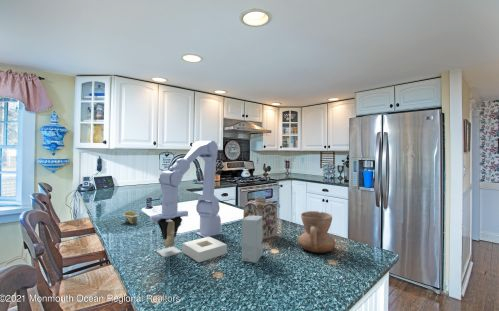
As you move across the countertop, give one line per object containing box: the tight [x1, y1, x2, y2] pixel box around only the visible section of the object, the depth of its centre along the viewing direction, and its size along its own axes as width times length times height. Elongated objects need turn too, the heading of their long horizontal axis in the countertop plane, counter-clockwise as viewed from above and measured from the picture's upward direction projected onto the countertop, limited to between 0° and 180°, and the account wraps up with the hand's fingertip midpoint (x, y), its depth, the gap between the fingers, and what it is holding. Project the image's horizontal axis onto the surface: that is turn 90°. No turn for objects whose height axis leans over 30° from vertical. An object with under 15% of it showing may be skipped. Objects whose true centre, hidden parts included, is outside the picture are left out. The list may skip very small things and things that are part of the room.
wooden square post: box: [162, 219, 175, 248], centre depth 94 cm, size 3×3×9 cm
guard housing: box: [181, 236, 227, 263], centre depth 94 cm, size 12×12×4 cm
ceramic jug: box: [297, 210, 336, 254], centre depth 99 cm, size 18×14×14 cm
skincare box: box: [241, 215, 264, 264], centre depth 90 cm, size 8×6×15 cm
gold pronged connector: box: [122, 210, 140, 225], centre depth 133 cm, size 12×18×7 cm, turn 68°
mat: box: [155, 245, 183, 258], centre depth 94 cm, size 7×7×1 cm
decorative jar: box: [242, 196, 278, 241], centre depth 116 cm, size 12×12×18 cm
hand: (169, 237), depth 94 cm, fingers closed on wooden square post, 3 cm apart
